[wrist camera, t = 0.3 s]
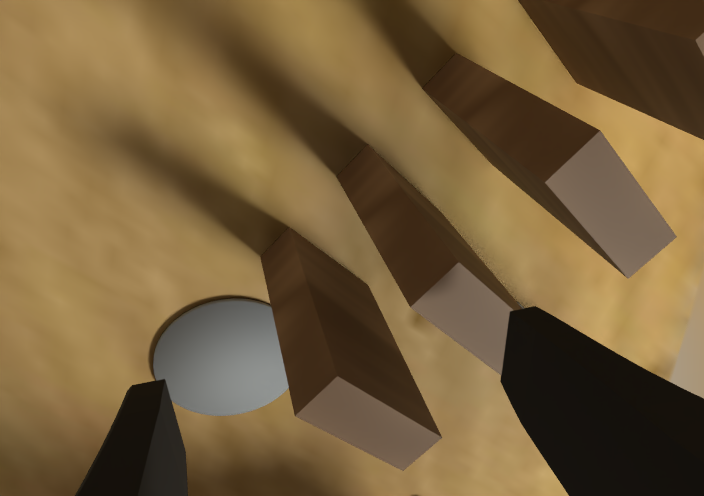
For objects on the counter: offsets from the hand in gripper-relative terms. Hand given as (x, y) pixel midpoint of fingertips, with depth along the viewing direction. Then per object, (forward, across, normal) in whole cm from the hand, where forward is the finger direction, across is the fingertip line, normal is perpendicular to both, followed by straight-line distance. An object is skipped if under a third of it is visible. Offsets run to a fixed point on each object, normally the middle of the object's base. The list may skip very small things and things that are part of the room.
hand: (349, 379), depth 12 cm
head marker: (+10, +3, +7) cm, 13 cm away
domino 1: (+10, -4, +1) cm, 11 cm away
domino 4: (+10, -7, -2) cm, 12 cm away
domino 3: (+10, -10, -5) cm, 15 cm away
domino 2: (+10, -1, +4) cm, 11 cm away
